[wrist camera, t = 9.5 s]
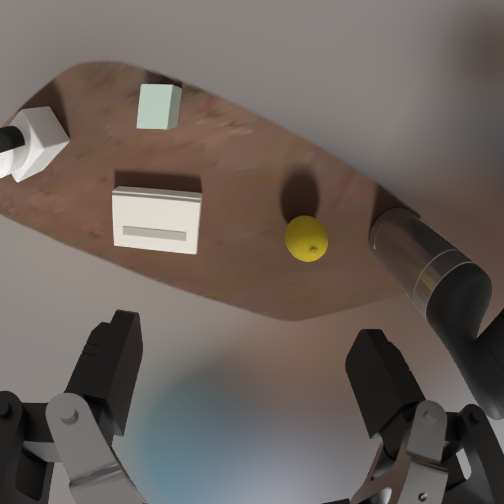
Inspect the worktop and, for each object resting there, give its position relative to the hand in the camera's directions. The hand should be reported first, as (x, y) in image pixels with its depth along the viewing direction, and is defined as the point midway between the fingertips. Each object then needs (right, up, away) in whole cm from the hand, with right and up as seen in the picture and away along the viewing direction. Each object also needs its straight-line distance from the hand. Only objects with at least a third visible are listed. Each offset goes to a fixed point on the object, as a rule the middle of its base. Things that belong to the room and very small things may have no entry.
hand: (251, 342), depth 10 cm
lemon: (+7, +7, +31) cm, 33 cm away
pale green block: (-11, +21, +22) cm, 32 cm away
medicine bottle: (-30, +20, +22) cm, 42 cm away
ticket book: (-13, +8, +29) cm, 33 cm away
